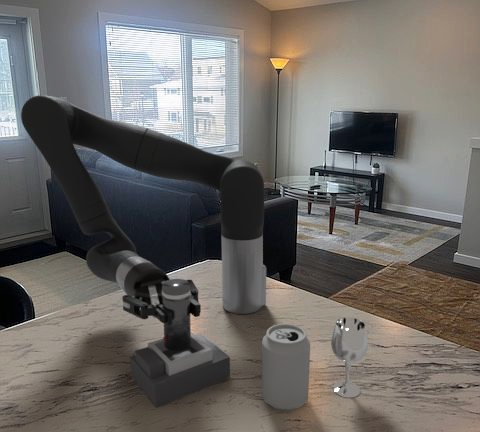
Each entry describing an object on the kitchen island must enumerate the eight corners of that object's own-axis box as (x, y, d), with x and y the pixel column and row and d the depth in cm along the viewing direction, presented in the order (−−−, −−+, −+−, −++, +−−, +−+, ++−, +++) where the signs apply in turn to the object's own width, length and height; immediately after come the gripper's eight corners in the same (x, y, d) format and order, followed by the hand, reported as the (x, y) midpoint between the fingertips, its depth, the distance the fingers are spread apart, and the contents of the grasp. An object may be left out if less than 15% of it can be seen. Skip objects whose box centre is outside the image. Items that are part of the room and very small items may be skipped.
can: (306, 417, 73) (309, 346, 69) (258, 410, 74) (258, 341, 71) (309, 387, 80) (312, 322, 77) (265, 382, 81) (266, 318, 78)
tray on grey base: (201, 352, 91) (200, 322, 89) (230, 377, 83) (229, 344, 81) (131, 377, 83) (129, 344, 81) (156, 407, 75) (154, 372, 73)
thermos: (183, 334, 84) (182, 276, 81) (196, 345, 80) (195, 286, 78) (158, 341, 82) (156, 282, 79) (170, 354, 78) (168, 292, 75)
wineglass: (344, 404, 75) (348, 336, 72) (321, 385, 80) (324, 320, 77) (371, 393, 78) (376, 327, 75) (348, 375, 83) (352, 313, 80)
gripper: (104, 270, 86) (142, 305, 72) (175, 255, 94) (221, 284, 80) (106, 308, 88) (144, 349, 74) (176, 290, 96) (221, 324, 82)
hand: (184, 315), depth 77 cm, fingers closed on thermos, 4 cm apart
